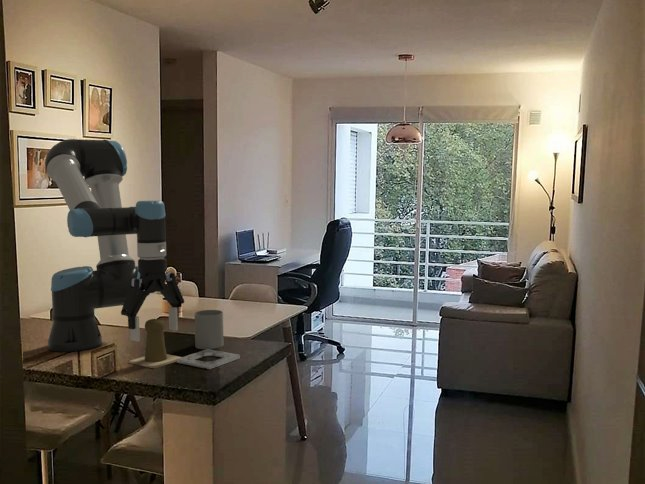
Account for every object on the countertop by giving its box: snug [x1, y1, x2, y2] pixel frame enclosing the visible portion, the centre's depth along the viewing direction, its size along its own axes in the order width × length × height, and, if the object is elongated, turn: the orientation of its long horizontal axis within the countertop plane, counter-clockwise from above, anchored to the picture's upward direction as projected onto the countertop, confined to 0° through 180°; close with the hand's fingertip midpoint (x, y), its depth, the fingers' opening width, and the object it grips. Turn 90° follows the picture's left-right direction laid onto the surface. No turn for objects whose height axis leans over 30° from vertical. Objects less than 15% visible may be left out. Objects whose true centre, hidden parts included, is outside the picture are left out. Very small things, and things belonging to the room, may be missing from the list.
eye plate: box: [176, 349, 241, 370], centre depth 172 cm, size 12×12×1 cm
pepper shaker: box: [144, 318, 167, 362], centre depth 171 cm, size 6×6×11 cm
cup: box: [193, 309, 225, 350], centre depth 187 cm, size 8×8×10 cm
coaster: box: [128, 353, 183, 370], centre depth 172 cm, size 10×10×1 cm
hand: (155, 335), depth 171 cm, fingers open, 13 cm apart
